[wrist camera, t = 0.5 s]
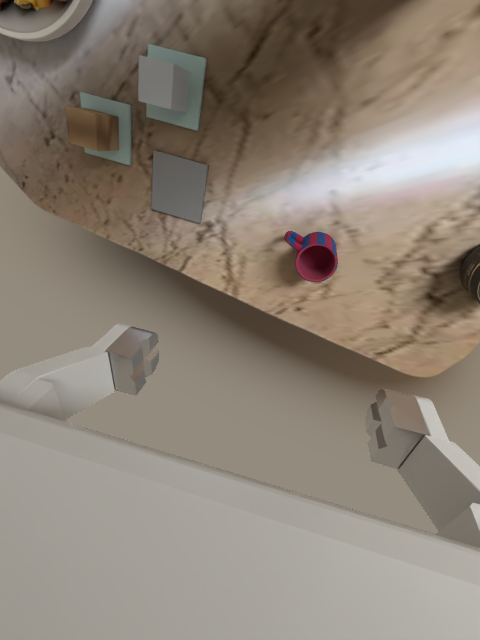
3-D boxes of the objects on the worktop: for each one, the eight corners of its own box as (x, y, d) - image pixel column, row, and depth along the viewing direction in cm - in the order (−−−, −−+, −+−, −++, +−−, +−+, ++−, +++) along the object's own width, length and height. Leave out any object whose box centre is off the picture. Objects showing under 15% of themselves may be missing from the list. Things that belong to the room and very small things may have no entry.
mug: (314, 274, 55) (314, 289, 50) (278, 237, 53) (273, 249, 48) (343, 250, 52) (346, 264, 46) (305, 210, 50) (303, 219, 44)
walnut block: (91, 109, 49) (65, 105, 44) (118, 116, 48) (95, 113, 43) (93, 142, 51) (69, 143, 47) (119, 150, 51) (97, 151, 46)
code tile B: (149, 44, 43) (147, 43, 42) (206, 59, 42) (205, 58, 42) (148, 117, 48) (146, 116, 47) (198, 130, 47) (197, 130, 47)
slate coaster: (155, 150, 50) (153, 150, 50) (208, 165, 49) (207, 165, 49) (152, 208, 56) (151, 208, 55) (200, 222, 55) (199, 223, 55)
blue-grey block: (159, 64, 43) (138, 54, 38) (190, 72, 43) (173, 63, 38) (157, 105, 46) (138, 100, 41) (187, 112, 46) (170, 109, 41)
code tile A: (82, 92, 48) (79, 91, 48) (131, 105, 48) (129, 104, 47) (86, 152, 53) (84, 152, 53) (131, 165, 53) (129, 165, 52)
